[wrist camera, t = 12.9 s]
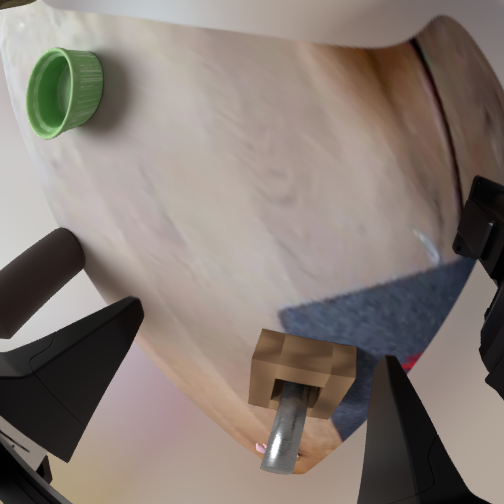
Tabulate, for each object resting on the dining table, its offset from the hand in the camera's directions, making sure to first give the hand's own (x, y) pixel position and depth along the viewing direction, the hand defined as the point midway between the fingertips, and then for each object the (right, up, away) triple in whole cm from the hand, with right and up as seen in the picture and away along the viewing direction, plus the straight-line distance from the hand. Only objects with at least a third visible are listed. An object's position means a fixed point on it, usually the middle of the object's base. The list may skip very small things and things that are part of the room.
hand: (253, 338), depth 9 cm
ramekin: (-17, +19, +10) cm, 28 cm away
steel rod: (+6, -10, +20) cm, 23 cm away
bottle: (-25, +3, +22) cm, 33 cm away
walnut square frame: (+6, -10, +20) cm, 23 cm away
